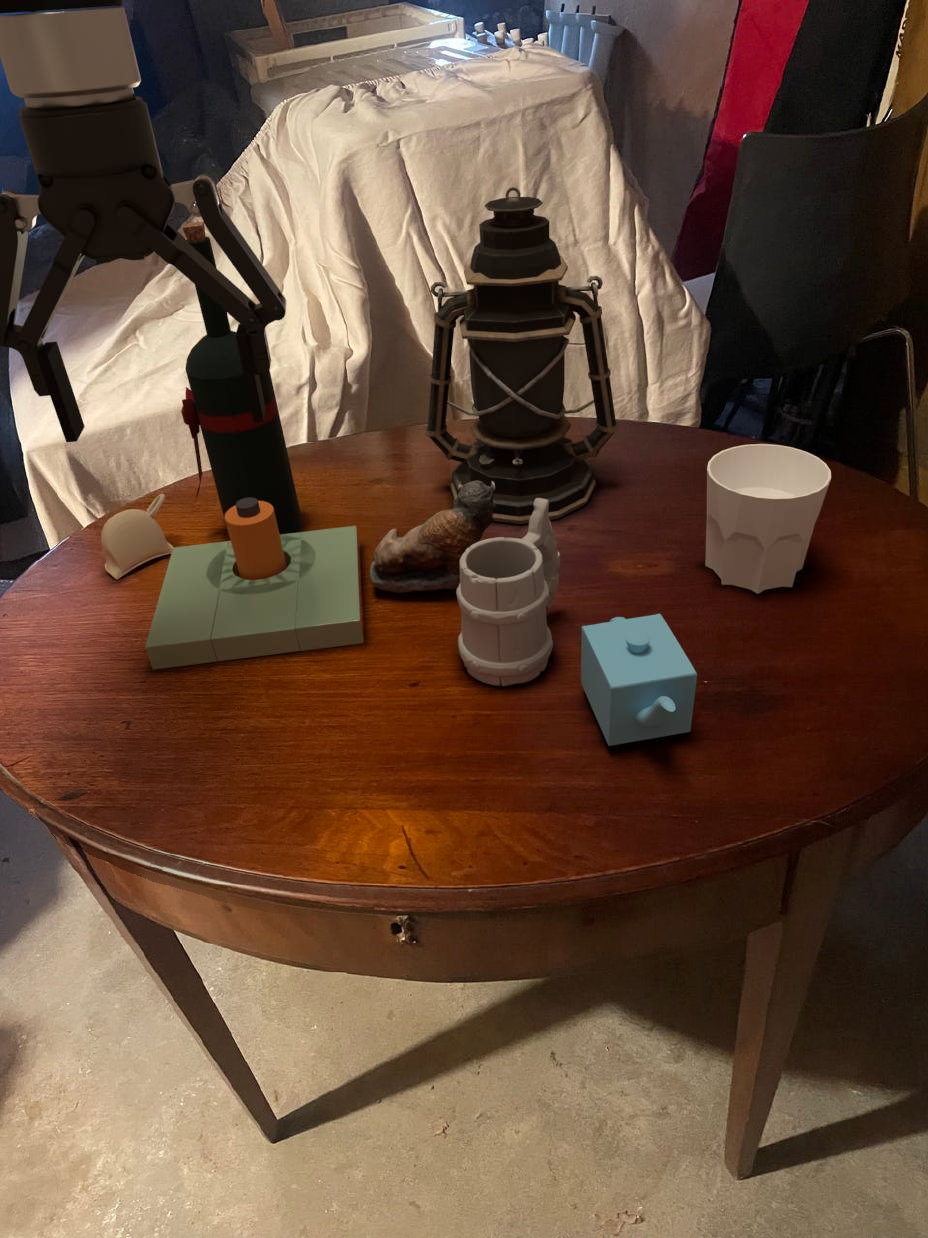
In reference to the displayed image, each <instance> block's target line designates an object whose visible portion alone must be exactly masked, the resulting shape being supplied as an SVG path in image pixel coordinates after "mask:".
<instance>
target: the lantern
mask: <svg viewBox="0 0 928 1238" xmlns="http://www.w3.org/2000/svg"><path fill="white" fill-rule="evenodd" d="M512 191H515V192H516V195H517V196H509V195H510V193H511V192H512ZM504 196H505V197H502V198H501V197H500V198H497V199H493V200H490V201H488V202H487V203H485V204H484V207H485V209H486V210H487V211H490V212H492V213H493V217H492V218H488V219H484V220H483V221H482V222H480V223H479V225H478V227H479V242H478V243H477V244H476V245H475V246H474V248H473V251H472V255H471V258H470V263H469V264H468V265H467V266H466V268H465V269H463V273H464V274H463V275H464V278H465V283H466V285H467V286H468V285H469V286H473V288H470V289H467V290H466V291H446V292H445V291H444V289H445V288H447V287H448V284H446V283H445V282H443V281H435V282H433V283H432V284H431V285H430V293H431V294H432V295H433V296H434V297H435V298H437V311H436V312H434V313H433V321H434V332H433V333H434V334H433V344H432V345H433V346H432V347H433V348H432V359H431V373H430V375H429V383H430V388H429V401H428V416H427V427H426V428H425V436H426V437H428V438H429V439H430V440H431V441H432V442H433V443H434V444H435V445H436V446H437V447H438V448H439V450H440V451H441V452H442V453H443V454H444V457H445V458H446V459H447V460H448V461H450V460H452V461H456V462H458V464H457V466H456V467H455V468H454V469H453V471H451V478H452V479H451V480H452V482H451V484H450V485H449V486H450V489H451V493H452V495H453V498H454V499H453V500H455V499H457V497H458V494H459V490H458V485H459V483H460V482H462V485H465V484H467V483H469V482H472V481H482V482H483V483H484V484H485V485H486V486H489V487H491V486H492V484H491V481H493V482H494V484H495V492H494V495H493V500H494V501H495V505H496V508H494V509H493V519H494V521H493V522H495V523H503V524H512V525H519V526H520V525H526V524H529V520H530V517H531V516H532V513H533V511H534V505H533V504H534V501H535V499H536V498H542V499H547V500H548V501H549V508H548V514H549V521H552V520H558V519H560V518H562V517H564V516H566V515H568V514H570V513H572V512H574V511H577V510H578V509H580V508H582V507H583V506H586V504H588V501H589V499H590V497H591V495H592V493H593V491H594V489H595V487H596V485H597V482H596V480H595V479H594V473H595V472H594V469H593V467H592V465H591V464H590V462H589V461H588V459H590V458H593V457H594V458H596V457H598V455H599V454H600V450H601V449H602V448H603V447H604V446H605V445H606V443H607V442H608V441H609V440H610V438H612V436H613V435H614V434H615V433H616V432H618V430H619V423H618V422H617V420H616V419H617V418H616V413H615V406H614V399H613V398H614V397H613V391H612V390H613V389H612V384H611V374H612V373H611V368H609V361H608V356H607V349H606V341H605V333H604V327H603V320H602V315H603V308H602V306H601V305H599V299H598V297H599V290H601V289H602V287H603V285H604V281H603V279H602V277H600V276H598V275H590V276H589V278H587V279H586V282H587V283H589V284H590V285H586V286H585V285H584V286H567V285H564V284H563V285H562V284H560V281H562V280H563V278H564V276H565V275H566V273H567V271H568V269H569V266H568V264H567V262H566V260H565V259H564V257H563V255H561V254H560V252H559V249H558V246H557V243H556V242H555V240H553V239H552V238H551V237H550V220H549V219H548V218H547V217H546V216H541V215H537V214H535V209H538V208H540V206H542V205H543V204H544V203H543V201H542V200H541V199H540V198H538V197H531V196H521V191H520V190H519V189H518V188H517V187H515V186H512V187H509V188H508V189H507V190H506V191H505V195H504ZM593 281H595V282H593ZM596 282H597V283H596ZM437 287H441V288H439V289H438V292H437V291H436V288H437ZM587 292H591V295H592V297H591V295H589V294H588V293H587ZM443 298H447V299H446V300H445V302H444V303H443ZM576 314H577V315H578V316H579V317H578V318H579V319H578V320H579V323H580V324H581V328H582V334H583V341H584V345H585V353H586V360H587V366H588V372H587V376H588V379H589V380H590V386H591V393H592V398H593V399H592V400H589V401H588V402H587V403H585V404H583V405H581V406H580V407H578V408H576V409H566V407H565V405H564V396H565V384H566V383H565V378H566V377H565V374H566V373H565V366H566V365H565V361H566V360H565V355H566V354H565V351H566V349H567V348H568V345H569V343H570V339H569V338H568V337H566V336H569V335H570V334H571V331H572V329H573V327H574V325H575V323H576V321H577V316H576ZM460 317H461V318H460ZM459 318H460V319H459ZM458 319H459V321H458ZM457 321H458V322H459V323H458V324H459V328H460V335H461V339H462V340H467V341H466V342H467V344H468V354H469V355H468V356H469V357H468V358H469V371H470V384H471V385H470V386H471V394H472V399H473V400H472V401H473V404H472V406H471V411H469V410H467V409H465V408H463V407H461V406H459V405H457V404H455V403H453V402H451V401H449V392H450V384H451V382H452V376H451V370H452V369H451V368H452V358H453V357H452V356H453V346H454V337H455V329H456V327H457ZM591 405H594V410H595V411H594V412H595V418H596V422H595V428H594V430H592V432H591V433H590V434H589V435H588V434H587V435H586V436H585V437H584V438H583V440H580V441H577V442H573V441H572V439H571V438H568V437H566V435H567V433H568V432H569V430H570V428H571V427H572V424H571V422H570V421H569V420H568V418H567V416H566V414H577V413H580V412H581V411H583V410H585V409H586V408H588V407H589V406H591ZM448 406H450V407H452V408H454V409H456V410H458V411H460V412H461V413H464V414H465V415H467V416H473V417H474V416H475V417H477V419H476V420H475V421H474V423H472V425H471V426H470V430H471V432H472V434H473V436H474V439H475V441H474V442H473V443H471V444H470V445H469V444H465V443H461V442H460V440H459V439H458V438H457V437H456V438H455V437H454V436H453V435H452V434H451V433H450V432H448V425H447V413H448Z"/></svg>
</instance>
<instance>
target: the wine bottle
mask: <svg viewBox="0 0 928 1238" xmlns="http://www.w3.org/2000/svg"><path fill="white" fill-rule="evenodd" d="M205 227H206V225H205V223H204V221H203V220H202V221H194V222H185V223H184V224H183V226H182V231H183V233H184V237H185V239H186V240H187V242H188V243H189V244H190V245H191V246H192V247H193V248H194V249H195V250H196V251H198V252H199V253H200V254H201V255H202V256H203V257H204V258H205V259H207V260H208V261H209V262H210V263H211V264H212V265H213V266H214V267H215V268H217V269H218V267H217V263H216V259H215V255H214V251H213V247H212V242H211V238H210V237H209V236H206V228H205ZM194 287H195V292H196V296H197V300H198V304H199V308H200V312H201V316H202V320H203V325H204V328H205V332H206V335H204V336H202V337H201V338H200V339H199V340H198V341H197V342H196V343H195V344H194V345H193V347H192V348H191V349H190V351H189V353H188V355H187V357H186V363H185V373H186V377H187V380H188V384H189V387H188V386H186V387H185V398H184V399H182V400H181V402H182V403H181V404H182V407H181V410H180V412H181V416H182V420H183V423H184V424H185V425H186V426H188V428H189V432H190V436H191V439H193V444H194V445H193V446H194V452H195V458H196V465H197V466H196V467H197V472H198V479H199V483H198V486H197V489H196V495H195V500H194V502H197V499H198V496H199V493H200V490H201V484H202V478H203V468H202V467H203V466H202V461H201V451H200V444H199V436H198V435H199V433H200V432H201V434H202V435H201V436H202V439H203V442H204V446H205V450H206V454H207V458H208V461H209V466H210V469H211V470H210V471H211V474H212V478H213V481H214V485H215V489H216V492H217V496H218V497H217V498H218V500H219V505H220V509H221V512H222V515H223V519H224V523H225V527H226V532H227V535H228V537H229V538H230V536H229V533H228V529H227V525H226V521H225V514H226V512H227V511H228V510H229V509H230V508H232V507H233V506H235V505H236V502H237V501H239V500H241V499H243V498H248V497H252V498H256V499H257V500H258V501H264V502H268V503H270V504H271V505H272V506H273V508H274V512H275V517H276V521H277V526H278V530H279V534H280V535H281V534H290V533H298V532H300V530H301V528H302V527H303V524H304V522H303V518H302V513H301V509H300V504H299V500H298V495H297V490H296V485H295V480H294V477H293V471H292V468H291V462H290V457H289V454H288V450H287V444H286V439H285V434H284V431H283V426H282V421H281V416H280V411H279V408H278V403H277V397H276V392H275V389H274V383H273V379H272V374H271V370H269V373H268V374H259V377H260V382H261V387H262V392H263V397H264V403H265V408H266V409H265V417H264V422H259V423H254V422H253V417H252V412H251V408H250V403H249V398H248V393H247V388H246V384H245V379H244V374H243V369H242V364H241V359H240V355H239V350H238V345H237V340H236V332H237V331H234V330H232V328H231V324H230V320H229V314H228V313H227V312H226V311H225V310H224V309H223V308H221V307H220V306H219V305H218V304H217V303H216V302H215V301H213V300H212V299H211V298H210V297H209V296H208V295H207V294H205V293H204V292H203V291H202V290H201V289H200V288H199V287H197V286H196V285H195V284H194ZM200 430H201V431H200Z"/></svg>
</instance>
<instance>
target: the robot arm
mask: <svg viewBox="0 0 928 1238" xmlns="http://www.w3.org/2000/svg"><path fill="white" fill-rule="evenodd" d="M120 6H121V7H120ZM123 6H124V4H123V0H0V14H3V15H0V60H1V64H2V68H3V71H4V74H5V77H6V80H7V85H8V87H9V91H10V93H11V94H13V95H14V96H15V97H18V98H22V99H23V100H24V104H25V106H23V107H21V108H20V110H19V111H20V113H19V114H18V115H17V116H18V119H19V122H20V125H21V129H22V132H23V135H24V138H25V141H26V145H27V148H28V152H29V155H30V157H31V158H30V159H31V162H32V164H33V168H34V171H35V175H36V177H37V180H38V185H39V192H38V194H20V193H19V192H18V191H16V190H14V189H6V190H4V191H3V192H1V193H0V347H5V348H9V349H13V350H15V351H16V352H18V353H19V354H20V355H21V357H22V360H23V363H24V365H25V368H26V371H27V374H28V376H29V380H30V382H31V385H32V388H33V390H34V392H35V393H36V394H37V396H38V397H50V400H51V402H52V405H53V408H54V411H55V415H56V417H57V420H58V422H59V426H60V428H61V431H62V434H63V437H64V440H65V442H66V443H73V442H74V443H75V442H76V443H77V442H78V440H79V438H80V436H81V435H82V433H83V431H84V430H85V423H84V420H83V417H82V414H81V410H80V408H79V405H78V402H77V399H76V396H75V393H74V390H73V387H72V384H71V381H70V378H69V374H68V371H67V369H66V365H65V362H64V359H63V356H62V353H61V350H60V347H59V344H58V341H56V340H55V341H46V342H45V343H44V341H43V339H44V338H45V337H46V333H47V331H48V330H49V327H50V325H51V323H52V321H53V319H54V317H55V315H56V314H57V311H58V310H59V307H60V305H61V304H62V301H63V299H64V297H65V295H66V293H67V291H68V288H69V287H70V285H71V283H72V281H73V279H74V277H75V275H76V272H77V271H78V268H79V267H80V265H81V263H82V262H83V260H84V258H87V259H89V260H91V261H94V262H96V264H97V265H98V264H108V263H109V264H110V263H112V262H114V261H117V260H119V259H122V260H126V261H127V260H128V261H143V260H146V258H147V257H149V256H151V255H152V254H153V253H155V254H156V255H157V256H158V257H160V259H162V260H163V261H164V262H165V263H167V264H169V265H170V266H173V267H174V268H175V269H176V270H178V271H179V272H180V273H181V274H182V275H183V276H185V277H186V278H187V279H188V280H189V281H190V282H191V283H193V284H194V286H195V285H196V286H197V287H199V288H200V289H201V290H202V291H203V292H204V293H205V294H207V295H208V296H209V297H210V298H211V299H212V300H213V301H215V302H216V303H217V304H218V305H219V306H220V307H221V308H223V309H224V310H225V311H226V312H227V315H228V316H231V318H233V319H234V320H235V321H236V322H237V323H238V325H237V329H236V331H235V332H236V340H237V345H238V350H239V355H240V359H241V364H242V369H243V374H244V379H245V384H246V388H247V393H248V398H249V403H250V408H251V412H252V417H253V422H254V423H259V422H264V417H265V409H266V408H265V403H264V397H263V392H262V387H261V382H260V377H259V374H268V373H269V370H270V369H271V365H272V358H271V352H270V347H269V340H268V335H267V331H266V327H267V326H268V325H269V324H271V323H273V322H275V321H281V320H283V319H284V318H285V316H286V313H287V299H286V297H285V295H284V294H283V292H282V291H281V290H280V288H279V287H278V285H277V283H276V282H275V281H274V280H273V278H272V276H271V275H270V274H269V272H268V271H267V269H266V268H265V266H264V265H263V264H262V262H261V260H260V259H259V257H258V256H257V255H256V253H255V252H254V250H253V249H252V247H251V246H250V244H249V243H248V242H247V241H246V239H245V238H244V236H243V235H242V233H241V232H240V230H239V229H238V227H237V226H236V225H235V223H234V222H233V220H232V219H231V217H230V216H229V214H228V213H227V211H226V210H225V209H224V206H223V203H222V198H221V196H220V193H219V190H218V186H217V183H216V181H215V179H214V177H213V176H212V175H211V174H209V173H201V174H199V175H198V176H197V178H195V179H190V180H188V181H181V182H177V183H171V182H170V181H169V179H168V178H167V177H166V175H165V173H164V171H163V167H162V164H161V159H160V156H159V151H158V146H157V143H156V137H155V134H154V130H153V126H152V121H151V117H150V112H149V107H148V105H147V102H146V101H144V100H143V98H142V97H141V96H138V95H137V96H136V93H135V91H134V88H137V87H139V85H140V83H141V82H142V77H141V74H140V69H139V65H138V61H137V57H136V51H135V47H134V43H133V40H132V35H131V30H130V27H129V23H128V19H127V18H128V17H127V15H126V10H125V7H123ZM103 7H106V8H103ZM107 7H108V8H107ZM88 8H89V9H88ZM90 8H94V9H90ZM75 9H76V10H75ZM77 9H78V10H77ZM58 10H59V11H58ZM60 10H61V11H60ZM62 10H63V11H62ZM43 11H44V12H43ZM45 11H46V12H45ZM47 11H48V12H47ZM14 13H19V14H14ZM4 14H5V15H4ZM177 204H181V205H183V206H185V207H186V209H187V211H188V212H189V214H190V215H192V216H193V217H196V218H200V217H201V219H202V222H203V221H204V226H205V227H206V229H207V230H208V232H209V233H210V235H211V236H212V238H213V239H214V240H215V242H216V244H217V245H218V246H219V247H220V249H221V251H222V252H223V253H224V255H225V256H226V257H227V259H228V260H229V262H230V263H231V265H232V266H233V267H234V269H235V270H236V271H237V273H238V274H239V276H240V277H241V278H242V280H243V281H244V283H245V284H246V285H247V287H248V289H250V291H251V293H252V294H253V295H254V297H255V298H256V300H257V301H258V302H259V303H255V301H254V300H253V299H251V298H250V297H249V296H248V295H247V294H246V293H244V291H242V289H240V288H239V287H238V286H237V285H236V284H235V283H233V282H232V280H230V279H229V278H228V277H227V276H225V274H223V273H222V272H221V271H220V270H219V269H218V267H217V268H215V267H214V266H213V265H212V264H211V263H210V262H209V261H208V260H207V259H205V258H204V257H203V256H202V255H201V254H200V253H199V252H198V251H196V250H195V249H194V248H193V247H192V246H191V245H190V244H189V243H188V242H187V240H186V239H187V238H186V237H185V236H184V235H183V234H182V233H180V231H178V230H177V229H176V228H175V227H174V226H173V225H171V224H170V223H169V221H170V219H171V217H172V214H173V212H174V210H175V207H176V205H177ZM40 215H41V216H42V217H43V219H44V220H45V221H46V222H47V223H48V224H49V225H50V226H52V227H53V229H55V230H56V231H57V232H58V233H59V234H60V235H61V236H62V237H63V240H62V242H61V244H60V246H59V249H58V250H57V252H56V255H55V257H54V258H53V261H52V264H51V267H50V269H49V271H48V272H47V275H46V277H45V278H44V282H43V283H42V286H41V287H40V290H39V291H38V294H37V296H36V298H35V300H34V302H33V304H32V306H31V309H30V311H29V313H28V315H27V317H26V319H25V321H24V323H23V325H19V324H16V321H17V320H16V318H17V313H18V312H17V311H18V306H19V299H20V293H21V287H22V279H23V273H24V266H25V260H26V259H25V258H26V252H27V247H28V237H29V231H31V230H32V229H33V228H34V227H35V226H36V224H37V217H38V216H40ZM270 371H271V370H270Z"/></svg>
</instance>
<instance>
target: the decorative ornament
mask: <svg viewBox="0 0 928 1238" xmlns="http://www.w3.org/2000/svg"><path fill="white" fill-rule="evenodd" d="M165 499H166V495H165V494H164V493H159V494H157V496H156V497H155V498H154V499H153V500H152V502H151V503H150V504H149V506H148V508H147V509H146V510H143V509H138V508H130V509H126V510H123V511H119V512H117V513H116V514H114V515H113V516H111V517H110V518H108V520H107V521H106V522H105V523H104V524H103V527H102V530H101V532H100V537H101V538H100V544H101V549H102V554H103V556H104V559H105V563H104V569H105V570H106V572H107V573H108V574H109V575H110V576H111V577H112V578H114V580H116V581H117V580H119V579H120V578H122V577H123V576H125V575H126V574H127V573H129V572H131V571H132V570H134V569H135V568H137V567H139V566H140V565H142V564H145V563H146V562H149V561H151V560H153V559H155V558H159V557H162V556H166V555H171V554H172V550H173V548H174V546H173V545H172V544H171V543H170V542H168V541H167V539H166V536H165V533H164V532H163V529H162V528H161V526H160V524H159V523H158V521H157V520H156V519H155V517H156V515H157V514H158V513H159V511H160V509H161V508H162V506H163V504H164V502H165Z"/></svg>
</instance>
